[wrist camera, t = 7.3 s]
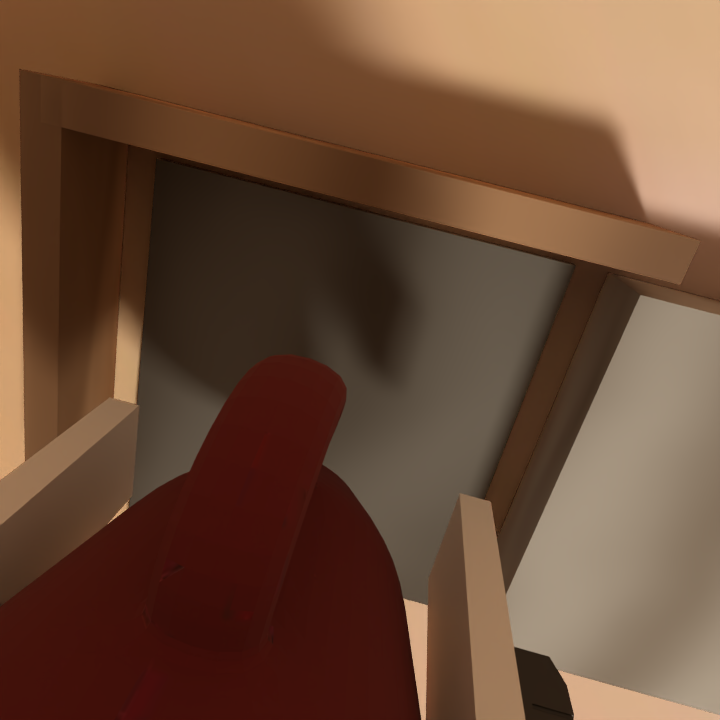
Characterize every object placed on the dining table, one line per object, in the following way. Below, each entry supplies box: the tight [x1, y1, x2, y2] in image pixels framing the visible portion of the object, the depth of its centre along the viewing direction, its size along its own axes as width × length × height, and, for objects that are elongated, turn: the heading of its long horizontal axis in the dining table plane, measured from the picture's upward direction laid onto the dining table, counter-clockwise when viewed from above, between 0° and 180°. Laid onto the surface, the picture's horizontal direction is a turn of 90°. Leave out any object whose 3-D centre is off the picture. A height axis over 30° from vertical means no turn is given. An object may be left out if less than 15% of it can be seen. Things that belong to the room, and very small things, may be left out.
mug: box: [0, 354, 421, 720], centre depth 9 cm, size 11×8×10 cm
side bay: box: [20, 69, 720, 715], centre depth 16 cm, size 23×14×3 cm, turn 76°
